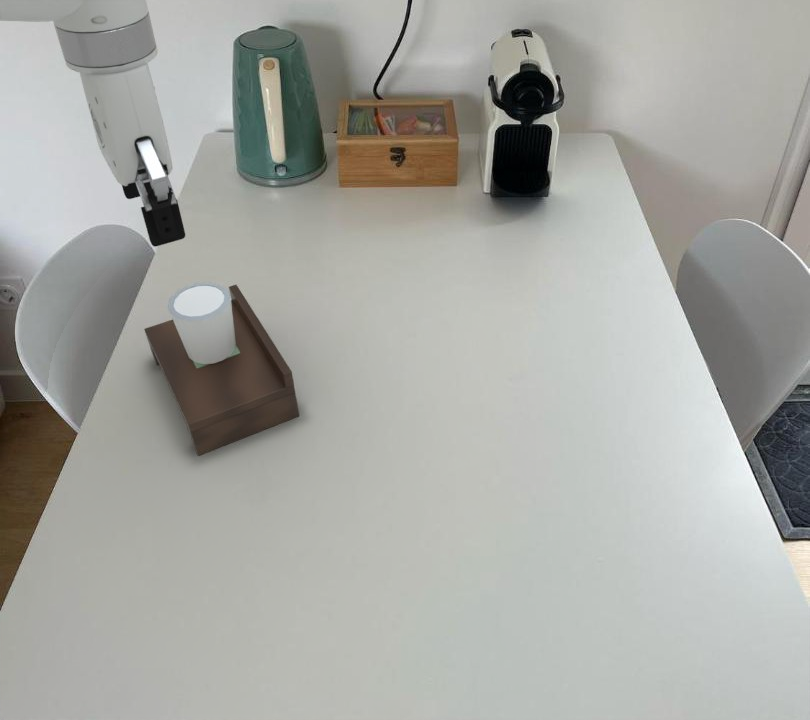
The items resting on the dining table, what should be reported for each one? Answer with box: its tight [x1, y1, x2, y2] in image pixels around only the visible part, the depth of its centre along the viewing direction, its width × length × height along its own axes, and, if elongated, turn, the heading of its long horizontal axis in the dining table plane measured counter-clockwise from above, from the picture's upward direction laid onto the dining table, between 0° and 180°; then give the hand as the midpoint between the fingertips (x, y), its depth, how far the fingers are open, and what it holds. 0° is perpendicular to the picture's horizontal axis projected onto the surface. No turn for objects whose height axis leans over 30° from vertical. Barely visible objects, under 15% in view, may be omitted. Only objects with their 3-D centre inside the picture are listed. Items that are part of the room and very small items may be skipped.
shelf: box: [144, 284, 300, 456], centre depth 94 cm, size 12×18×7 cm, turn 28°
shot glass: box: [167, 281, 236, 364], centre depth 91 cm, size 7×7×7 cm
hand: (154, 216), depth 79 cm, fingers open, 9 cm apart
